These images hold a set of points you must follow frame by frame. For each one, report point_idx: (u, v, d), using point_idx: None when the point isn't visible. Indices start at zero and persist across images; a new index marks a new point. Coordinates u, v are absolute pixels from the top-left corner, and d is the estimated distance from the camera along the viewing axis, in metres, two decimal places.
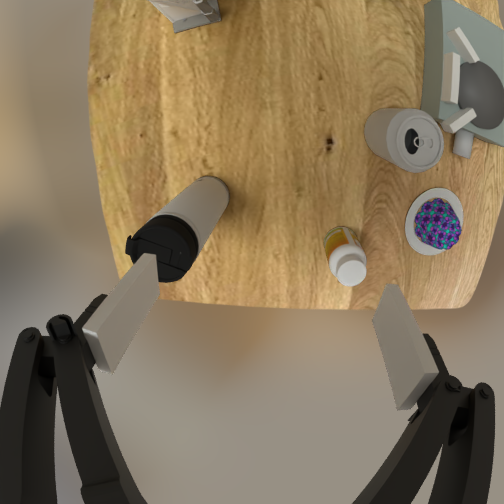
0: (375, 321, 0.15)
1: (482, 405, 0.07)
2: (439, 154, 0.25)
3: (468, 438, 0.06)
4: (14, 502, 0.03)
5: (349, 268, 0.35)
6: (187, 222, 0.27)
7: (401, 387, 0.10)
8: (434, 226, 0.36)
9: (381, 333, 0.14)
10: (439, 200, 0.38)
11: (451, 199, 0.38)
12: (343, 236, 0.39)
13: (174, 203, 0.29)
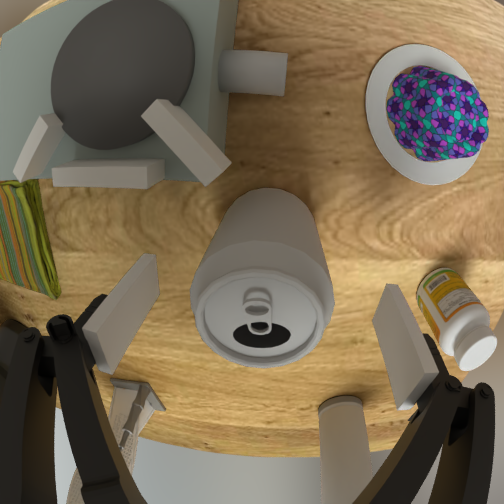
0: (375, 321, 0.15)
1: (482, 405, 0.07)
2: (282, 281, 0.12)
3: (468, 438, 0.06)
4: (14, 502, 0.03)
5: (470, 360, 0.16)
6: None
7: (401, 387, 0.10)
8: (449, 153, 0.15)
9: (381, 333, 0.14)
10: (391, 110, 0.18)
11: (384, 76, 0.17)
12: (429, 318, 0.22)
13: (321, 494, 0.23)
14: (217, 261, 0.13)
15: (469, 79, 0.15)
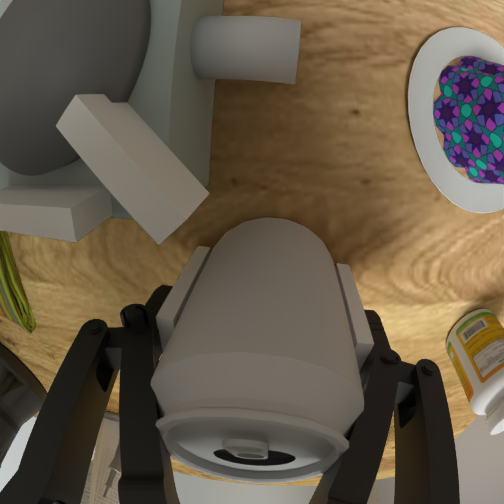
0: None
1: (428, 383, 0.09)
2: (286, 426, 0.06)
3: (420, 420, 0.07)
4: (36, 491, 0.04)
5: (503, 425, 0.10)
6: None
7: None
8: None
9: None
10: (441, 116, 0.12)
11: (428, 69, 0.11)
12: (461, 372, 0.15)
13: None
14: (180, 376, 0.07)
15: None
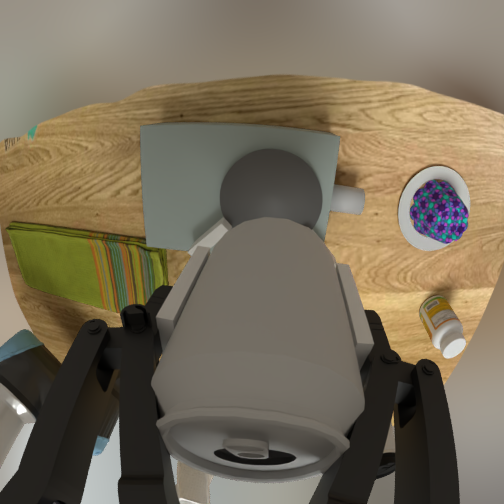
0: None
1: (428, 383, 0.09)
2: (287, 426, 0.06)
3: (420, 420, 0.07)
4: (36, 491, 0.04)
5: (449, 351, 0.31)
6: None
7: None
8: (443, 243, 0.30)
9: None
10: (412, 215, 0.32)
11: (409, 193, 0.32)
12: (426, 327, 0.36)
13: None
14: (180, 376, 0.07)
15: (461, 179, 0.29)
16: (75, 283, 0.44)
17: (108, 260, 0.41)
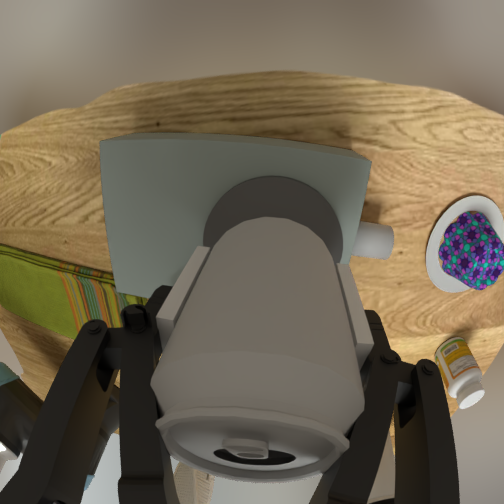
0: None
1: (428, 383, 0.09)
2: (286, 426, 0.06)
3: (420, 420, 0.07)
4: (36, 491, 0.04)
5: (466, 403, 0.24)
6: (372, 502, 0.27)
7: None
8: (476, 289, 0.23)
9: None
10: (442, 255, 0.26)
11: (439, 230, 0.25)
12: (443, 373, 0.29)
13: None
14: (180, 375, 0.07)
15: (497, 209, 0.22)
16: (49, 313, 0.37)
17: (81, 295, 0.33)
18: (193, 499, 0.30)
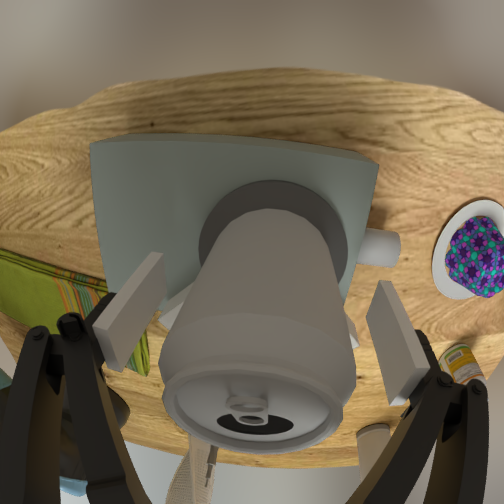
0: (369, 317, 0.16)
1: (475, 401, 0.07)
2: (284, 380, 0.07)
3: (462, 436, 0.06)
4: (17, 500, 0.03)
5: None
6: None
7: (393, 382, 0.11)
8: None
9: (374, 329, 0.14)
10: (448, 263, 0.24)
11: (445, 238, 0.24)
12: None
13: None
14: (189, 338, 0.08)
15: None
16: (45, 318, 0.35)
17: (77, 302, 0.32)
18: None
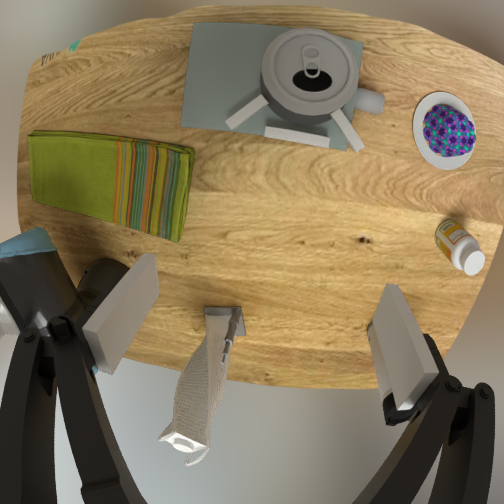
0: (375, 321, 0.15)
1: (482, 405, 0.07)
2: (326, 37, 0.15)
3: (468, 438, 0.06)
4: (14, 502, 0.03)
5: (470, 266, 0.31)
6: None
7: (401, 387, 0.10)
8: (458, 154, 0.29)
9: (381, 333, 0.14)
10: (426, 135, 0.32)
11: (419, 116, 0.32)
12: (444, 246, 0.36)
13: (379, 384, 0.38)
14: (285, 34, 0.17)
15: (462, 103, 0.29)
16: (88, 193, 0.44)
17: (132, 165, 0.40)
18: (206, 384, 0.38)
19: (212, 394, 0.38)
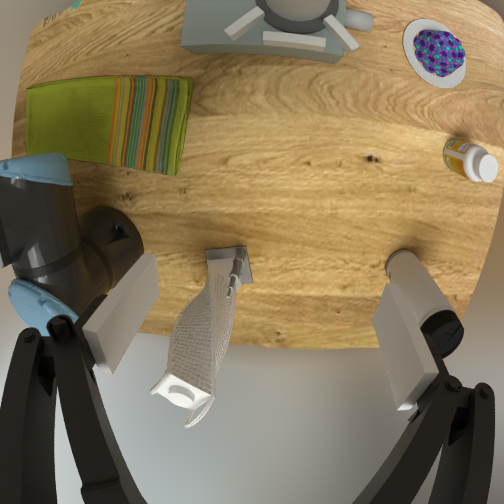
0: (375, 321, 0.15)
1: (482, 405, 0.07)
2: None
3: (468, 439, 0.06)
4: (14, 502, 0.03)
5: (484, 170, 0.27)
6: (429, 315, 0.30)
7: (401, 387, 0.10)
8: (451, 66, 0.25)
9: (381, 333, 0.14)
10: (418, 56, 0.29)
11: (408, 40, 0.28)
12: (454, 160, 0.32)
13: None
14: None
15: (446, 28, 0.25)
16: (84, 136, 0.40)
17: (129, 101, 0.37)
18: (209, 321, 0.33)
19: (217, 335, 0.34)
